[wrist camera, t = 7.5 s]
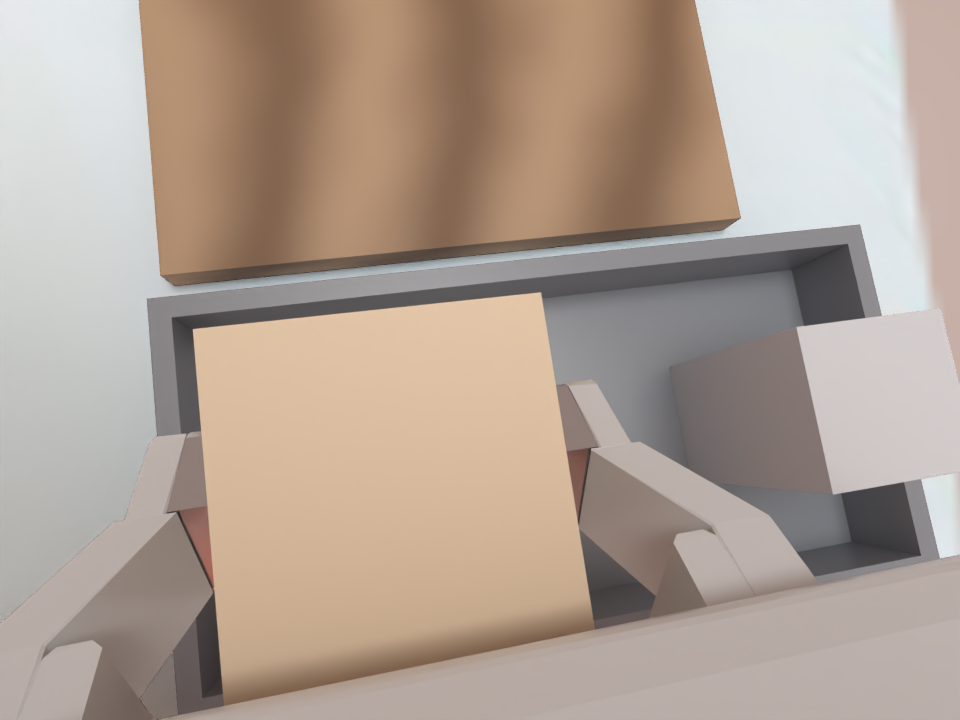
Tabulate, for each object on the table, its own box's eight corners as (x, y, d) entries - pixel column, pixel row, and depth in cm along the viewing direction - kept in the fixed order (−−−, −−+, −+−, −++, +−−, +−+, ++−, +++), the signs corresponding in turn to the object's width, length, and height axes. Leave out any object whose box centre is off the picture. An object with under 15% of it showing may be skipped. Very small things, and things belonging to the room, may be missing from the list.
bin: (219, 677, 19) (179, 728, 15) (190, 324, 20) (146, 298, 17) (857, 553, 22) (943, 572, 18) (792, 257, 23) (860, 224, 20)
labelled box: (317, 565, 14) (224, 710, 6) (298, 389, 14) (191, 315, 7) (485, 536, 15) (595, 634, 7) (461, 368, 15) (539, 280, 7)
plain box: (690, 480, 21) (833, 494, 14) (669, 367, 21) (796, 327, 14) (795, 462, 21) (980, 468, 15) (772, 353, 22) (940, 308, 15)
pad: (174, 285, 20) (160, 275, 19) (148, -35, 22) (133, -63, 21) (723, 229, 23) (740, 217, 22) (665, -49, 25) (678, -74, 24)
